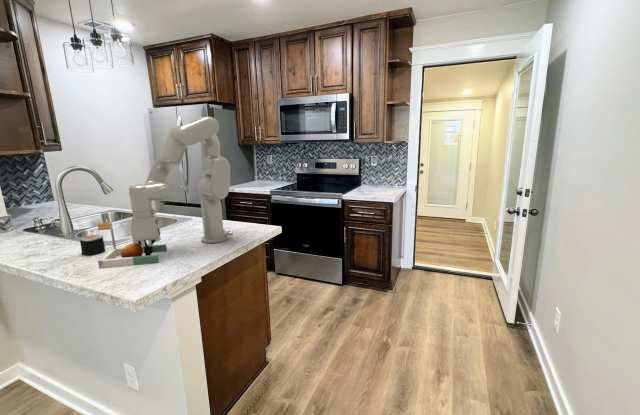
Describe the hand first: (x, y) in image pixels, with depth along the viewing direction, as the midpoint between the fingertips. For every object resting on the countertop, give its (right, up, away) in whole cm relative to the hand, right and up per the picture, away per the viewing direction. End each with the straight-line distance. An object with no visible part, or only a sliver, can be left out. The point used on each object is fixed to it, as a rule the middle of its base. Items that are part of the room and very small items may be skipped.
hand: (149, 254), depth 131 cm
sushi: (-29, 0, +7) cm, 30 cm away
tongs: (-7, -2, -1) cm, 8 cm away
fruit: (-6, -2, -1) cm, 6 cm away
